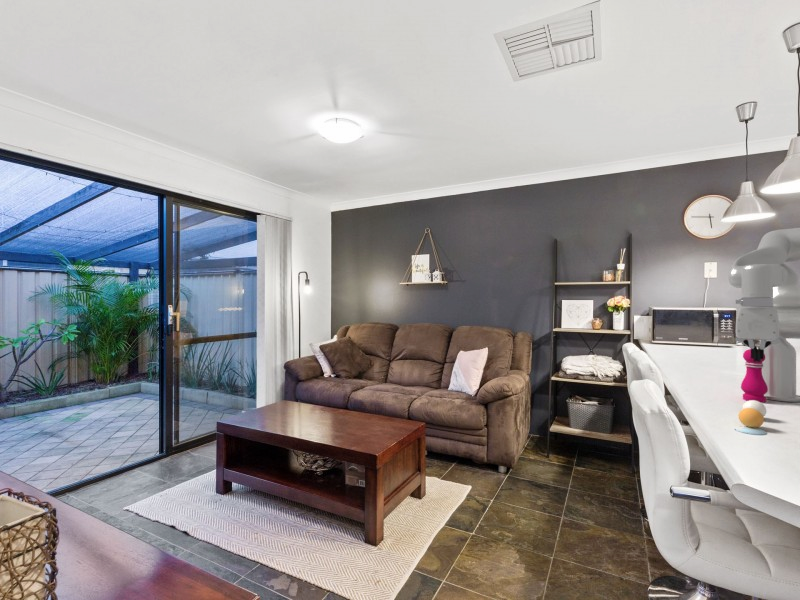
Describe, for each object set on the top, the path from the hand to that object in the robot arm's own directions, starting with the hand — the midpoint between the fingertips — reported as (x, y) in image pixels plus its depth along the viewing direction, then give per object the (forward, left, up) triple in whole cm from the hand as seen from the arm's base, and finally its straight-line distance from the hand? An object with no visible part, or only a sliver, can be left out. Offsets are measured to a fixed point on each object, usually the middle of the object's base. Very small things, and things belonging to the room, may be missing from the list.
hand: (757, 361), depth 127 cm
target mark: (+21, +4, -17) cm, 27 cm away
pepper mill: (-21, -7, -17) cm, 28 cm away
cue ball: (+6, +1, -14) cm, 15 cm away
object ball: (+17, +4, -14) cm, 22 cm away
